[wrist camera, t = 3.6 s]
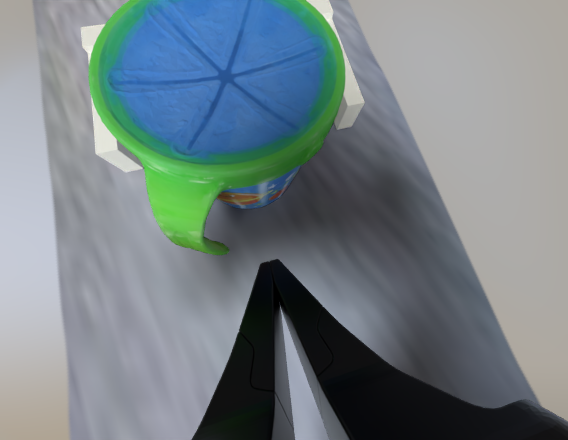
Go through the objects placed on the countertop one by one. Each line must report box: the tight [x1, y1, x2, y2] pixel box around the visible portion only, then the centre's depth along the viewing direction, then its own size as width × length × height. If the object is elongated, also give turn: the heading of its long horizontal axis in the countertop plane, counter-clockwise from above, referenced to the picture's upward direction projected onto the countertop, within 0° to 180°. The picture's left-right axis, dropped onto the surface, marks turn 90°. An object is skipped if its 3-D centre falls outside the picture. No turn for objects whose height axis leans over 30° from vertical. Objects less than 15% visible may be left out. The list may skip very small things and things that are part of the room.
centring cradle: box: [81, 0, 365, 172], centre depth 16 cm, size 11×21×7 cm, turn 105°
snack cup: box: [89, 0, 345, 255], centre depth 13 cm, size 16×11×10 cm
